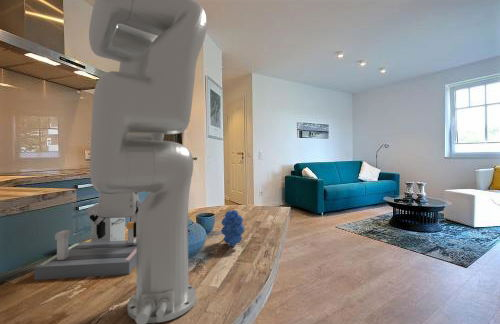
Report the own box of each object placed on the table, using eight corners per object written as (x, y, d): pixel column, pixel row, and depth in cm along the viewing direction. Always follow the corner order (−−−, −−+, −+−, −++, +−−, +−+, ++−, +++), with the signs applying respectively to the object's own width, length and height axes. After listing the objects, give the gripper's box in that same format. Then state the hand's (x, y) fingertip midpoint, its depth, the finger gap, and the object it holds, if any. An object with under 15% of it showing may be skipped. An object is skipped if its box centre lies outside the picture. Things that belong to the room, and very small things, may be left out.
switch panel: (129, 274, 59) (129, 234, 59) (34, 279, 56) (34, 238, 56) (148, 249, 76) (148, 217, 76) (76, 252, 73) (76, 220, 73)
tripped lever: (134, 245, 70) (134, 223, 70) (125, 245, 70) (125, 223, 69) (137, 241, 73) (137, 220, 73) (129, 242, 72) (129, 220, 72)
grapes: (253, 248, 77) (253, 210, 76) (236, 253, 72) (236, 213, 72) (233, 238, 86) (233, 205, 86) (216, 242, 82) (216, 207, 81)
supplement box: (109, 247, 77) (109, 208, 77) (90, 246, 79) (89, 207, 79) (126, 240, 84) (125, 204, 84) (107, 239, 86) (107, 203, 86)
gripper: (153, 177, 75) (153, 231, 75) (93, 177, 73) (94, 233, 73) (145, 179, 68) (146, 239, 68) (79, 179, 66) (80, 242, 66)
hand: (119, 236), depth 71 cm, fingers open, 9 cm apart
